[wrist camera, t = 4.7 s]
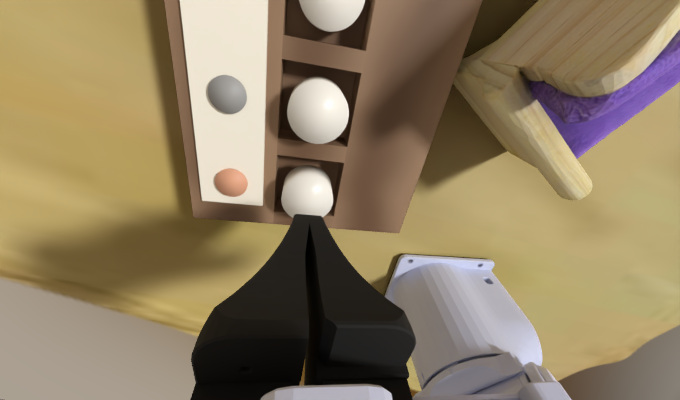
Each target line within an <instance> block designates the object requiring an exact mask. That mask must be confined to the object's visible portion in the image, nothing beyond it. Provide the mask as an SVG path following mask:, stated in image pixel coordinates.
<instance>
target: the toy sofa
mask: <svg viewBox="0 0 680 400" xmlns="http://www.w3.org/2000/svg"><path fill="white" fill-rule="evenodd" d="M678 82H680V0H538V1H537V2H536V3H535V4H534V5H533V6H532V7H531V8H530V9H529V10H528V11H527V12H526V13H525V14H524V15H523V16H522V17H521V18H520V19H519V20H518V21H517V22H516V23H515V24H514V25H513V26H512V27H511V28H510V29H508V30H507V31H506V32H505V33H504V34H503V35H502V36H501V37H500V38H499V39H498V40H497V41H495V42H493V43H491V44H490V45H488V46H486V47H484V48H483V49H481V50H479V51H477V52H476V53H474V54H472V55H470V56H468V57H466V58H462V59H461V62H460V65H459V68H458V71H457V73H456V76H455V79H454V82H453V84H454V85H455V87H456V88H457V89H458V90H459V92H460V93H461V94H462V96H463V97H464V98H465V99H466V101H467V102H468V103H469V104H470V106H471V107H472V108H473V110H474V111H475V112H476V113H477V115H478V116H479V117H480V118H481V120H482V121H483V122H484V123H485V125H486V126H487V127H488V128H489V130H490V131H491V132H492V133H493V135H494V136H495V137H496V138H497V139H498V141H499V142H500V143H501V144H502V145H503V147H504V148H505V149H506V150H507V151H508V152H510V153H511V154H513V155H515V156H517V157H518V158H520V159H522V160H524V161H525V162H527V163H529V164H531V165H532V166H534V167H536V168H538V170H539V171H540V172H541V173H542V175H543V176H544V177H545V179H546V180H547V181H548V182H549V184H550V185H551V186H552V187H553V189H554V190H555V191H556V192H557V194H558V195H559V196H560V197H562V198H564V199H568V200H579V199H582V198H584V197H585V196H587V195H588V194H589V193H590V192H591V189H592V181H591V180H590V178H589V177H588V175H587V174H586V172H585V171H584V169H583V168H582V166H581V165H580V163H579V162H578V160H577V158H579V157H580V156H581V155H583V154H584V153H585V152H586V151H587V150H589V149H590V148H591V147H593V146H594V145H595V144H597V143H598V142H599V141H601V140H602V139H604V138H605V137H606V136H607V135H608V134H609V133H611V132H612V131H614V130H615V129H617V128H618V127H619V126H621V125H623V124H624V123H625V122H627V121H628V120H629V119H630V118H632V117H633V116H634V115H636V114H637V113H639V112H640V111H642V110H643V109H644V108H646V107H647V106H648V105H649V104H651V103H652V102H653V101H655V100H656V99H657V98H659V97H660V96H661V95H663V94H664V93H665V92H667V91H668V90H669V89H671V88H672V87H673V86H675V85H676V84H677V83H678Z"/></svg>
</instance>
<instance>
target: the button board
mask: <svg viewBox="0 0 680 400" xmlns="http://www.w3.org/2000/svg"><path fill="white" fill-rule="evenodd" d="M482 1H483V0H365V3H364V6H363V9H362V11H361V13H360V15H359V17H358V18H357V19H356V20H355V22H354V23H353V24H351V25H350V26H349V27H347V28H345V29H343V30H340V31H334V32H328V31H323V30H320V29H318V28H316V27H315V26H314V25H312V24H311V23H310V22H309V21H308V19H307V18H306V16H305V15H304V13H303V11H302V8H301V5H300V2H299V0H268V34H267V72H266V110H265V148H264V185H263V206H258V205H246V204H234V203H223V202H211V201H202V196H201V187H200V178H199V169H198V160H197V151H196V142H195V133H194V124H193V115H192V106H191V97H190V89H189V80H188V71H187V62H186V53H185V44H184V35H183V26H182V17H181V8H180V0H164V3H165V10H166V18H167V25H168V32H169V40H170V47H171V55H172V62H173V69H174V77H175V84H176V92H177V99H178V106H179V114H180V121H181V128H182V136H183V143H184V151H185V158H186V165H187V173H188V180H189V188H190V195H191V202H192V210H193V217H194V218H204V219H217V220H230V221H243V222H257V223H270V224H283V225H291V223H292V221H293V218H292V217H291V216H289V215H288V214H287V213H286V212H285V210H284V208H283V206H282V202H281V197H282V191H283V185H284V180H285V178H286V176H287V174H288V173H289V172H290V171H291V170H293V169H294V168H296V167H298V166H302V165H312V166H316V167H318V168H320V169H322V170H323V171H325V173H326V174H327V175H328V176H329V178H330V181H331V187H332V194H333V205H332V207H331V209H330V211H329V212H328V213H327V214H326V215H325V216H324V217H323V219H324V221H325V224H326V226H327V228H336V229H349V230H362V231H375V232H388V233H399V232H400V229H401V227H402V224H403V221H404V218H405V215H406V213H407V210H408V207H409V204H410V201H411V199H412V196H413V193H414V190H415V188H416V185H417V182H418V179H419V176H420V174H421V171H422V168H423V165H424V162H425V160H426V157H427V154H428V151H429V149H430V146H431V143H432V140H433V137H434V135H435V132H436V129H437V126H438V123H439V121H440V118H441V115H442V112H443V110H444V107H445V104H446V101H447V98H448V96H449V93H450V90H451V87H452V84H453V82H454V79H455V76H456V73H457V71H458V68H459V65H460V62H461V59H462V57H463V54H464V51H465V48H466V45H467V43H468V40H469V37H470V34H471V32H472V29H473V26H474V23H475V20H476V18H477V15H478V12H479V9H480V7H481V4H482ZM312 76H321V77H325V78H328V79H330V80H331V81H333V82H334V83H335V84H336V85H337V86H338V87H339V88H340V90H341V91H342V93H343V95H344V97H345V99H346V101H347V104H348V108H349V118H348V123H347V125H346V127H345V129H344V131H343V132H342V133H341V134H340V136H338V137H337V138H336V139H334V140H333V141H330V142H328V143H324V144H314V143H310V142H307V141H305V140H303V139H301V138H300V137H299V136H297V135H296V133H295V132H294V131H293V130H292V128H291V126H290V124H289V121H288V116H287V108H288V103H289V100H290V96H291V93H292V91H293V89H294V88H295V86H296V85H297V84H298V83H299V82H301V81H302V80H304V79H306V78H308V77H312Z"/></svg>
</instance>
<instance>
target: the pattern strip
mask: <svg viewBox="0 0 680 400" xmlns="http://www.w3.org/2000/svg"><path fill="white" fill-rule="evenodd" d="M180 8H181V17H182V26H183V35H184V44H185V53H186V62H187V71H188V80H189V89H190V97H191V106H192V115H193V124H194V133H195V142H196V151H197V160H198V169H199V178H200V187H201V196H202V201H211V202H223V203H234V204H246V205H258V206H263V185H264V148H265V110H266V72H267V34H268V0H180Z"/></svg>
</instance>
